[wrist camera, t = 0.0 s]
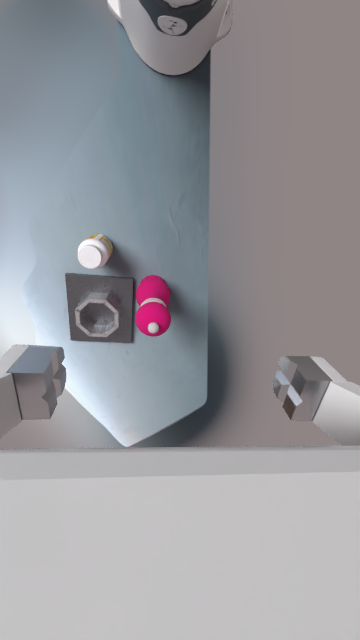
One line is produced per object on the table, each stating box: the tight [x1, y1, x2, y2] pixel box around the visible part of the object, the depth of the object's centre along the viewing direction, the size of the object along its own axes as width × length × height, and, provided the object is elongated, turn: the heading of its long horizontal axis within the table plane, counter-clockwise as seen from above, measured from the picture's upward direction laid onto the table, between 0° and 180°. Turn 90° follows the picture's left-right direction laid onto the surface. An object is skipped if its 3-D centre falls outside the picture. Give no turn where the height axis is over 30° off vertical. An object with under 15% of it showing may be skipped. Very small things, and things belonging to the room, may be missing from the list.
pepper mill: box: [136, 275, 171, 336], centre depth 50 cm, size 7×7×20 cm
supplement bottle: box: [78, 234, 113, 269], centre depth 49 cm, size 5×5×10 cm
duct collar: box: [65, 273, 133, 343], centre depth 57 cm, size 16×14×5 cm
